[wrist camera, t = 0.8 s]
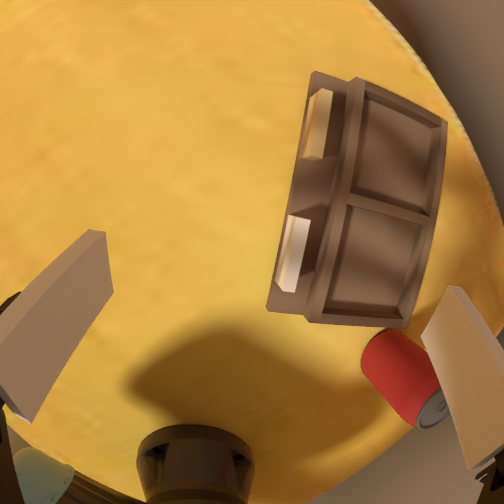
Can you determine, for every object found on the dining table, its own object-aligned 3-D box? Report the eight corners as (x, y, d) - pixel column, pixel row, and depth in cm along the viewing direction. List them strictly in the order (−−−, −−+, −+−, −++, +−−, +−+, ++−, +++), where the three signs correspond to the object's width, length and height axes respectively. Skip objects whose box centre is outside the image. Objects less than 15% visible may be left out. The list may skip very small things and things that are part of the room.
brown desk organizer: (393, 318, 31) (413, 332, 27) (265, 307, 28) (275, 324, 25) (432, 125, 28) (454, 120, 24) (310, 74, 25) (326, 59, 21)
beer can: (397, 369, 33) (452, 422, 22) (354, 380, 32) (404, 443, 21) (407, 324, 32) (473, 371, 20) (362, 332, 31) (425, 390, 19)
